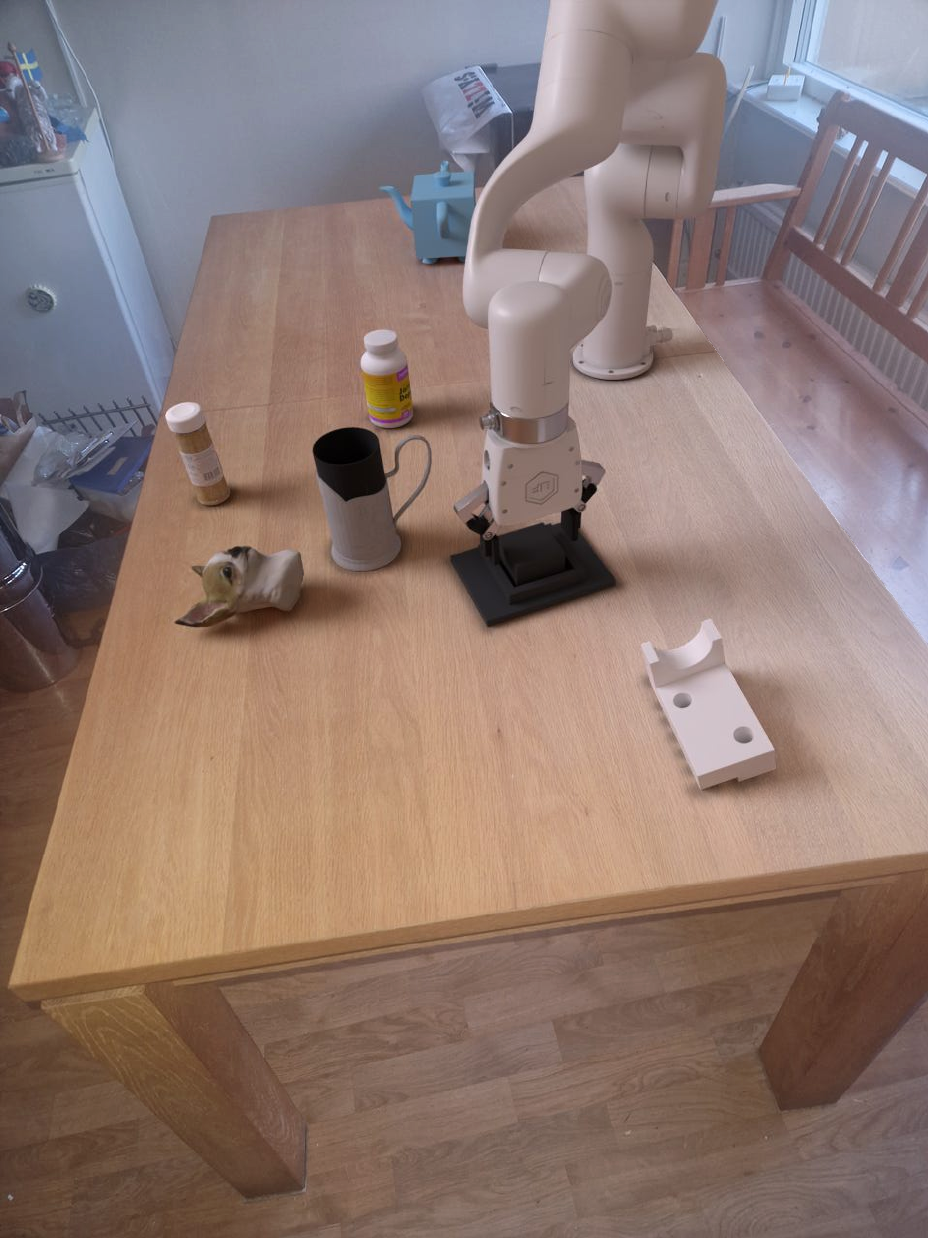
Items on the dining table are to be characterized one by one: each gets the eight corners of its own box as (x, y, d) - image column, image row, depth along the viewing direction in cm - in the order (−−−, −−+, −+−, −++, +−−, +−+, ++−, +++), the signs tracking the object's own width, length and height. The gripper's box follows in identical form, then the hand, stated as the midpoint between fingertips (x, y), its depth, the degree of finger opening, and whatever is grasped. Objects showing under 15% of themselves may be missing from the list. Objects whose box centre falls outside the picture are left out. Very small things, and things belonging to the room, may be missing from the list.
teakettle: (446, 279, 153) (440, 197, 142) (383, 255, 163) (373, 176, 152) (513, 247, 161) (512, 167, 151) (449, 226, 171) (444, 150, 161)
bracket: (651, 688, 83) (640, 644, 77) (717, 664, 82) (710, 618, 76) (701, 794, 74) (692, 753, 68) (776, 769, 73) (772, 725, 68)
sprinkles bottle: (226, 483, 111) (196, 396, 101) (234, 500, 108) (205, 413, 98) (194, 493, 110) (161, 407, 100) (201, 511, 107) (168, 424, 97)
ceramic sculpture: (289, 574, 84) (152, 589, 85) (311, 630, 90) (182, 644, 91) (301, 511, 91) (174, 526, 92) (320, 567, 97) (201, 581, 98)
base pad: (569, 525, 100) (570, 509, 98) (615, 585, 92) (617, 569, 90) (450, 561, 97) (448, 545, 95) (487, 627, 89) (486, 611, 87)
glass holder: (322, 537, 101) (297, 436, 91) (426, 505, 105) (414, 403, 94) (343, 579, 96) (319, 477, 85) (452, 544, 99) (442, 440, 88)
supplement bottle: (407, 431, 117) (396, 349, 108) (364, 428, 118) (350, 347, 109) (418, 406, 122) (409, 326, 112) (376, 404, 123) (364, 324, 114)
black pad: (543, 544, 96) (543, 521, 94) (564, 575, 92) (565, 552, 90) (497, 558, 95) (496, 535, 93) (517, 590, 91) (516, 567, 89)
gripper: (462, 457, 75) (472, 588, 87) (626, 412, 78) (614, 544, 91) (435, 417, 80) (449, 547, 92) (591, 377, 83) (584, 507, 96)
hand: (530, 545), depth 91 cm, fingers open, 9 cm apart
